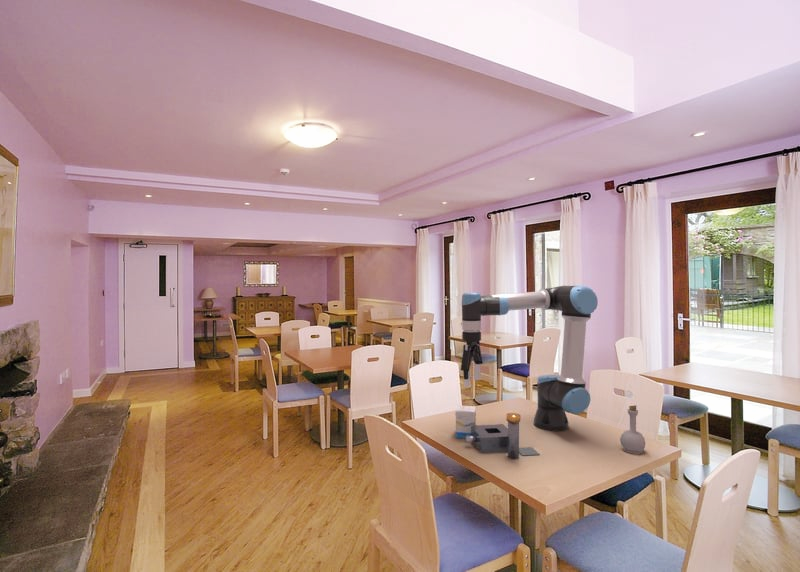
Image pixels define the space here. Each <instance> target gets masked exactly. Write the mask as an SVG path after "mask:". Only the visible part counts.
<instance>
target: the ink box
mask: <svg viewBox="0 0 800 572" xmlns="http://www.w3.org/2000/svg"><path fill="white" fill-rule="evenodd" d="M476 408H477V407H476V406H474V405H473V406H472V405H456V410H455V438H456V439H458V438H459V439H466V436H471V426H476V425H477V418H476V417H477V412H476V411H477V410H476Z"/></svg>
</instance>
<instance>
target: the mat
mask: <svg viewBox="0 0 800 572" xmlns="http://www.w3.org/2000/svg"><path fill="white" fill-rule="evenodd" d="M519 455H521V457H530V456H541V454H540V453H539V452H538V451H537V450H536V449H535V448H534V447H533V446H528V447H519Z"/></svg>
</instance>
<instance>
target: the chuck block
mask: <svg viewBox="0 0 800 572" xmlns="http://www.w3.org/2000/svg"><path fill="white" fill-rule="evenodd" d="M465 442H466V443H468V444H469V443H473V444H474V446H475V447H476V448H477V449H478V451H479V452H480V454H491V453H492V454H493V453H508V426H506V425H505V424H503V423H500V424H499V423H498V424H483V425H482V424H480V425H479V424H478V425H477V424H476V426H471V436H466V438H465Z"/></svg>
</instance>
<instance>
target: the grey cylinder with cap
mask: <svg viewBox="0 0 800 572" xmlns="http://www.w3.org/2000/svg"><path fill="white" fill-rule="evenodd" d="M505 416H506V417H505V418H506V419H505V420H506V421H507V428H508V452H507V456H508V458H509V459H512V460H518V459H519V458H520V453H519V448H520V422H521V414H519V413H516V412H507V413H506V415H505Z"/></svg>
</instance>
